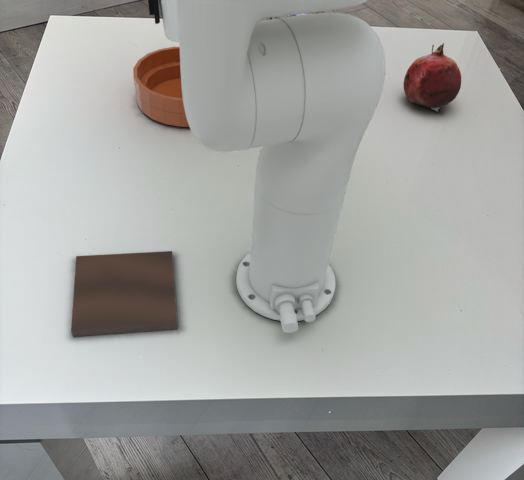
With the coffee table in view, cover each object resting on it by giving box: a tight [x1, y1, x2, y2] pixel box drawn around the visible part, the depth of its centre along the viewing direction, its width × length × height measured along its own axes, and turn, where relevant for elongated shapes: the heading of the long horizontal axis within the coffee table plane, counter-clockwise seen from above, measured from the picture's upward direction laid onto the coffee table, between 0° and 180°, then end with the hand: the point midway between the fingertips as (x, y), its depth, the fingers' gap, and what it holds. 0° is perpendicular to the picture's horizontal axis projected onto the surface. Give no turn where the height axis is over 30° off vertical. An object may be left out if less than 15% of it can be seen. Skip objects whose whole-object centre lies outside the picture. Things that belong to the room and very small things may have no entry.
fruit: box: [403, 42, 462, 113], centre depth 92 cm, size 9×10×10 cm
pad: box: [70, 250, 178, 338], centre depth 66 cm, size 12×12×1 cm
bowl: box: [132, 46, 190, 128], centre depth 90 cm, size 16×16×5 cm
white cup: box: [158, 0, 179, 44], centre depth 79 cm, size 7×7×7 cm
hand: (182, 18), depth 80 cm, fingers closed on white cup, 6 cm apart
